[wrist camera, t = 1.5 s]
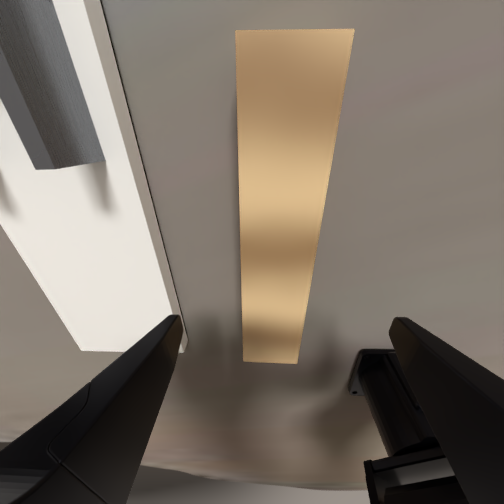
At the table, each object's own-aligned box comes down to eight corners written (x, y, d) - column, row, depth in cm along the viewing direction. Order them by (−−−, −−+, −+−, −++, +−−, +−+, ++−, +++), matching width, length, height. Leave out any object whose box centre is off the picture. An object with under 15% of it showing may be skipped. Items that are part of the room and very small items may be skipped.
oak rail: (292, 331, 18) (296, 363, 16) (246, 329, 19) (243, 361, 16) (329, 57, 10) (354, 28, 7) (242, 58, 10) (235, 30, 7)
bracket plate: (188, 340, 19) (170, 390, 15) (91, 339, 19) (51, 386, 16) (90, -37, 8) (-44, -169, 5) (-118, -20, 9) (-389, -130, 5)
